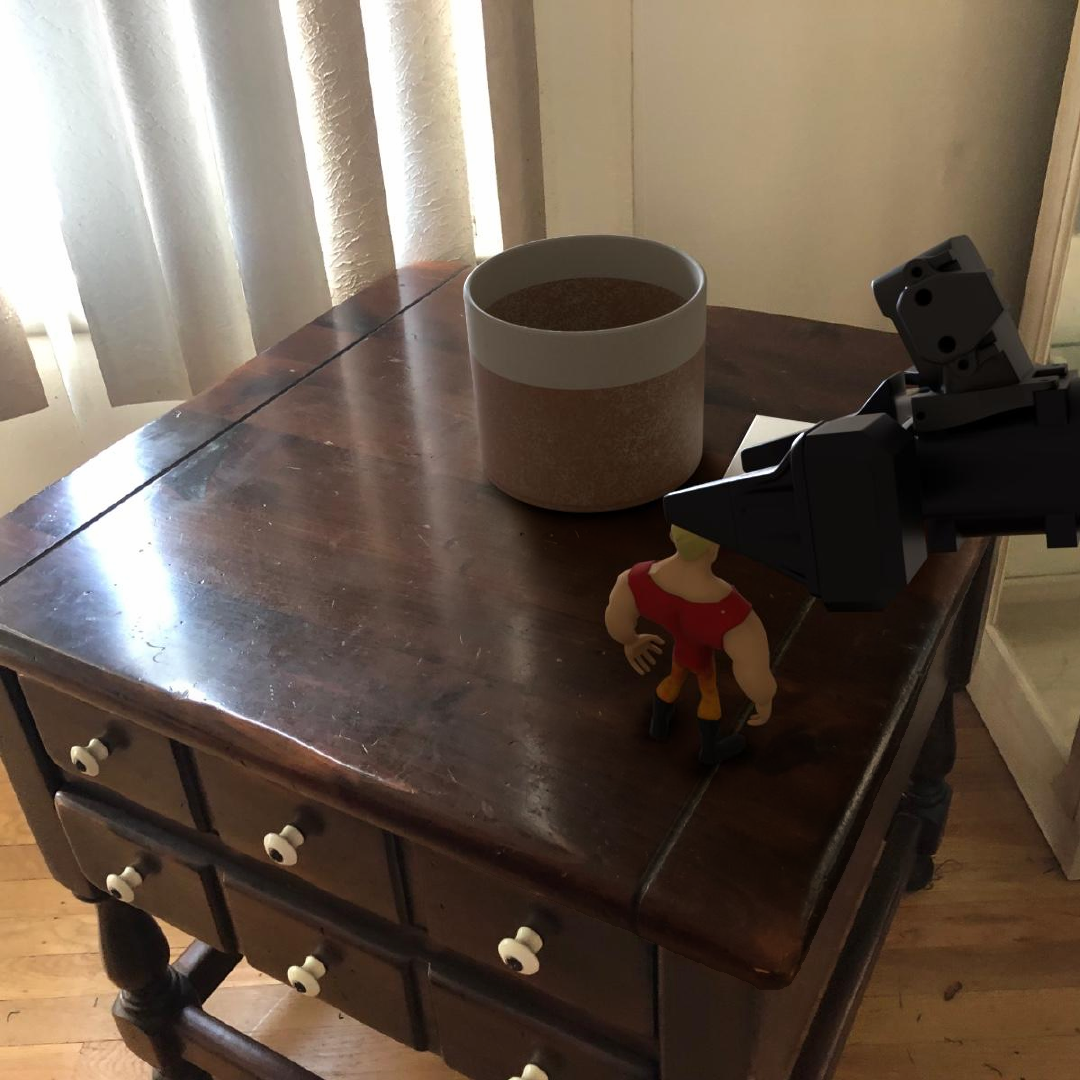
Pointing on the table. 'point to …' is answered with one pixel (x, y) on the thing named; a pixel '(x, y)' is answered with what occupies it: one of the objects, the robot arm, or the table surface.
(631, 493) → the planter
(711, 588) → the action figure
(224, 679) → the table surface
